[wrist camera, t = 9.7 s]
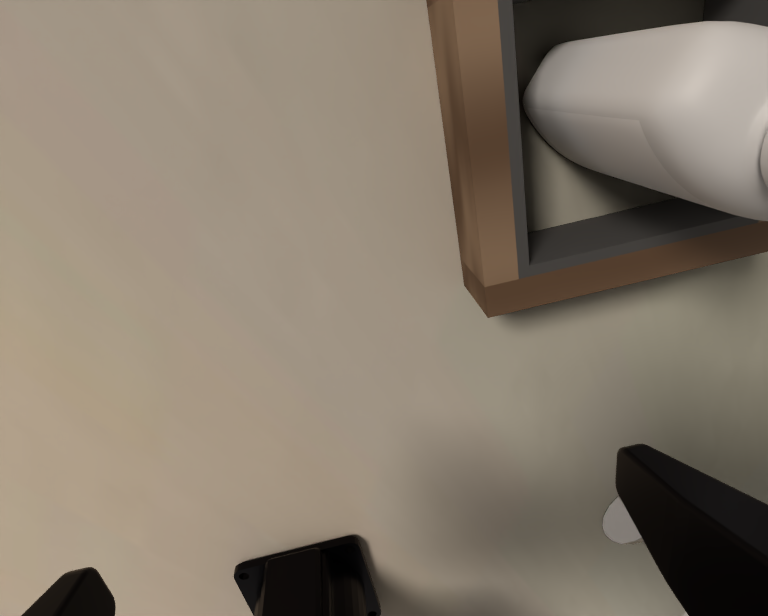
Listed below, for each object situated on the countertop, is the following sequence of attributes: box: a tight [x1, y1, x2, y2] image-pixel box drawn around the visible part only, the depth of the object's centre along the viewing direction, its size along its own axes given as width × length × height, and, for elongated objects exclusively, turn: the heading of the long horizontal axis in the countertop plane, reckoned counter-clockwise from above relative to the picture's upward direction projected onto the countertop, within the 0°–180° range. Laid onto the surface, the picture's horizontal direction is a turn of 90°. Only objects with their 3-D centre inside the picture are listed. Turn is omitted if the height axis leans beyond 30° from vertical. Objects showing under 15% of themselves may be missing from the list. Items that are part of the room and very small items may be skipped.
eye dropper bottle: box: [523, 21, 768, 221], centre depth 12 cm, size 4×6×12 cm
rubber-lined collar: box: [427, 0, 768, 318], centre depth 16 cm, size 11×11×3 cm
